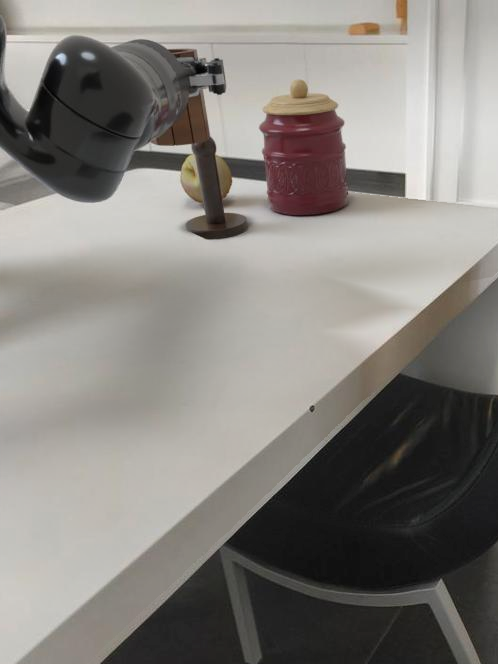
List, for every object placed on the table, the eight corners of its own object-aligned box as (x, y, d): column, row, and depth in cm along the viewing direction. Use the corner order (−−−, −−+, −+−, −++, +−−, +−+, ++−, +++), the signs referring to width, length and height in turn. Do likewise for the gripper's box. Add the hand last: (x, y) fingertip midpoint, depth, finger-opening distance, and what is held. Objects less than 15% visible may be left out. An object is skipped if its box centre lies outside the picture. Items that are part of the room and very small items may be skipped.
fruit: (181, 201, 115) (172, 150, 111) (230, 195, 118) (222, 144, 113) (189, 213, 110) (179, 159, 105) (240, 205, 112) (232, 152, 107)
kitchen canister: (252, 208, 110) (235, 82, 100) (310, 190, 118) (300, 72, 107) (306, 221, 103) (294, 87, 92) (365, 202, 110) (360, 76, 100)
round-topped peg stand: (203, 243, 97) (186, 143, 89) (176, 229, 103) (157, 134, 95) (259, 229, 101) (246, 132, 93) (229, 217, 107) (215, 125, 99)
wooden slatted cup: (166, 148, 74) (148, 56, 69) (142, 140, 78) (124, 52, 73) (219, 139, 77) (206, 50, 72) (193, 132, 81) (179, 47, 76)
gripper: (210, 38, 60) (232, 26, 73) (46, 47, 60) (98, 33, 73) (224, 133, 64) (242, 106, 78) (71, 141, 64) (116, 112, 78)
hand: (172, 71), depth 75 cm, fingers closed on wooden slatted cup, 6 cm apart
